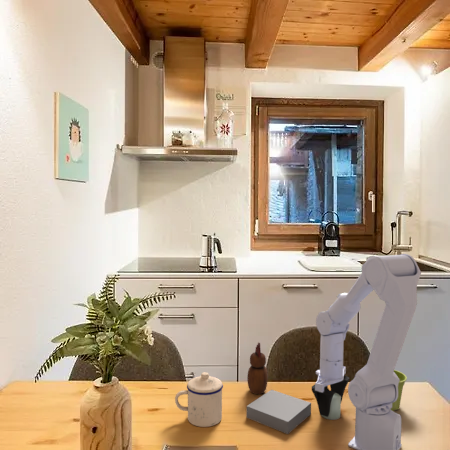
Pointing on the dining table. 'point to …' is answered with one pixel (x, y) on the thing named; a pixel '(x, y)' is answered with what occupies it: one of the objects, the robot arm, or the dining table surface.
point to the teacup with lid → (203, 400)
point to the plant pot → (399, 389)
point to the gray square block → (279, 411)
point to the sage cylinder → (334, 408)
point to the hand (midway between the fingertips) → (330, 409)
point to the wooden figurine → (257, 372)
